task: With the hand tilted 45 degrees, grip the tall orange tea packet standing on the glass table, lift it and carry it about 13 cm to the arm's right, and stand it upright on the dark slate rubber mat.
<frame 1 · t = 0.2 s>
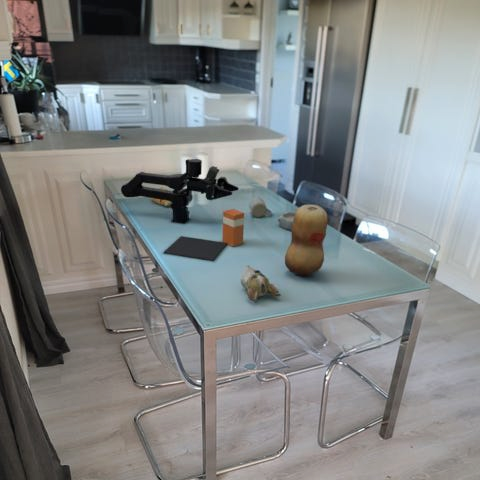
hand: (235, 191, 200), 17 cm above the table, tool horizontal, fingers open, 9 cm apart
packet: (232, 242, 194), on the table
ceramic sculpture: (256, 294, 156), on the table
ceramic mug: (260, 215, 225), on the table
dish: (294, 226, 214), on the table
butternut squash: (302, 274, 171), on the table
croissant: (161, 202, 236), on the table
mat: (196, 248, 187), on the table
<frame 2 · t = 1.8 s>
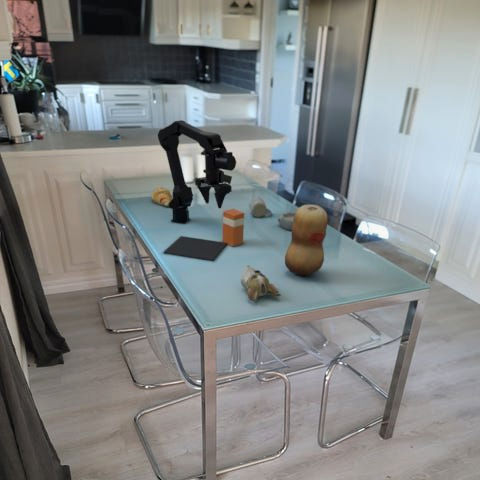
hand: (213, 205, 197), 12 cm above the table, tool pointing down, fingers open, 9 cm apart
nothing on the table moved.
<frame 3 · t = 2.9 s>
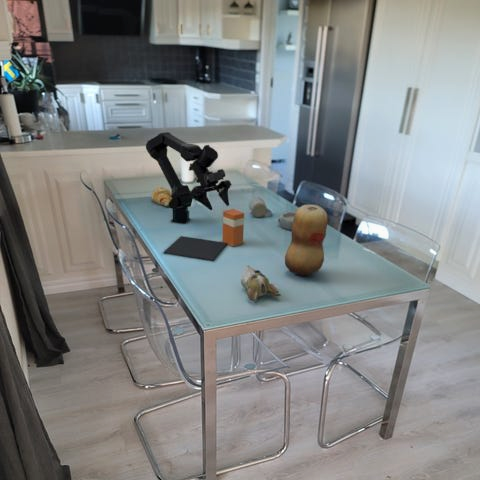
hand: (220, 207, 191), 13 cm above the table, tool tilted 45°, fingers open, 9 cm apart
nothing on the table moved.
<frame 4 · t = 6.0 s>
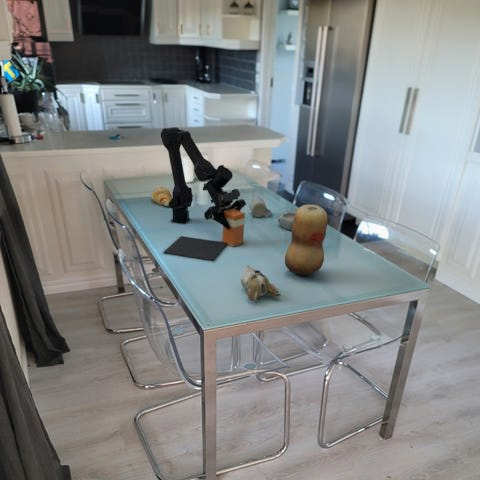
hand: (235, 227, 189), 7 cm above the table, tool tilted 45°, fingers closed on packet, 6 cm apart
packet: (232, 242, 194), on the table, touching gripper
everything else where it was.
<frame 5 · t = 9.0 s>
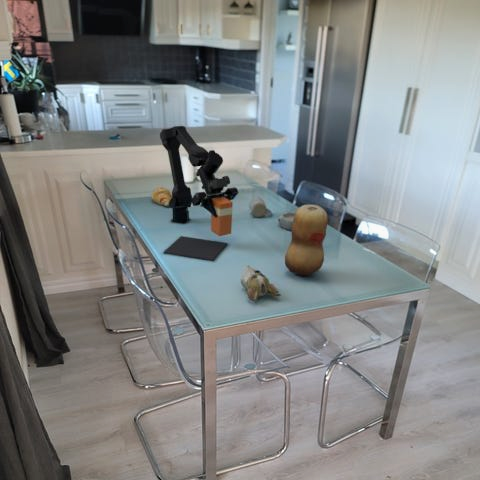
hand: (223, 215, 183), 13 cm above the table, tool tilted 45°, fingers closed on packet, 5 cm apart
packet: (220, 232, 187), point 6 cm above the table, touching gripper
everything else where it was.
when the fingers open (8 cm above the table, at t = 12.3 s): packet stays where it is, resting on mat.
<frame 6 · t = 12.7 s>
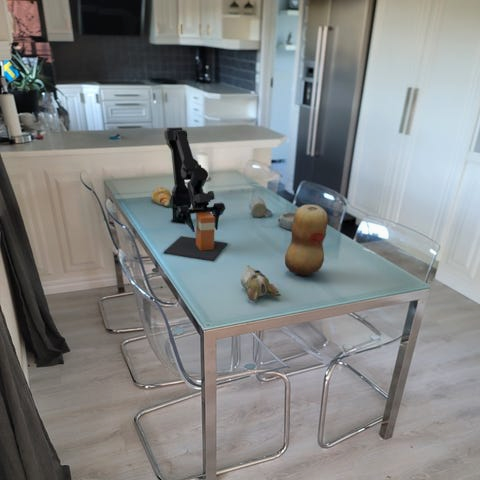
hand: (205, 230, 182), 8 cm above the table, tool tilted 45°, fingers open, 9 cm apart
packet: (204, 246, 187), point 1 cm above the table, touching mat
everything else where it was.
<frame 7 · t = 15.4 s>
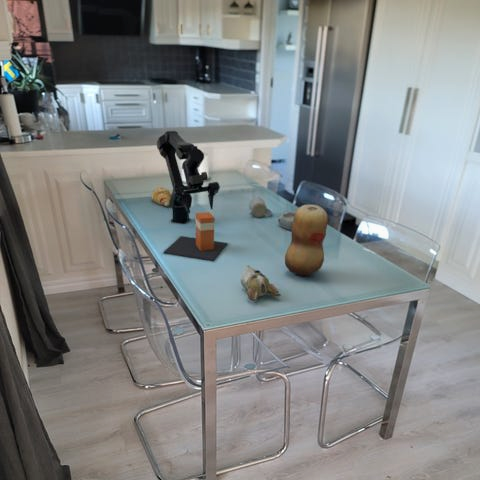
hand: (200, 210, 188), 12 cm above the table, tool tilted 40°, fingers open, 9 cm apart
nothing on the table moved.
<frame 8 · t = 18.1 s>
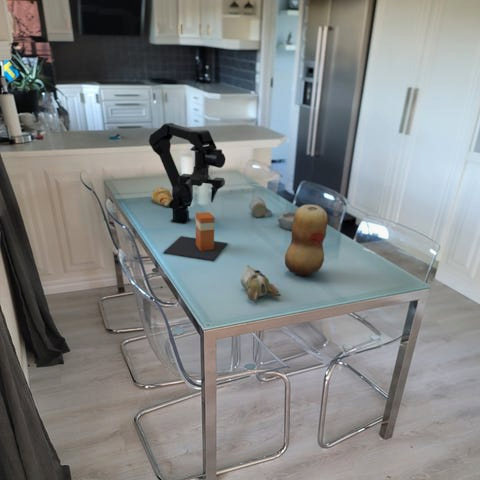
hand: (201, 200, 201), 12 cm above the table, tool pointing down, fingers open, 9 cm apart
nothing on the table moved.
at the end: packet inside the target area on the mat (0.7 cm from its centre), point 0.6 cm above the mat's base; packet tilted 0°; packet touching mat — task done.
